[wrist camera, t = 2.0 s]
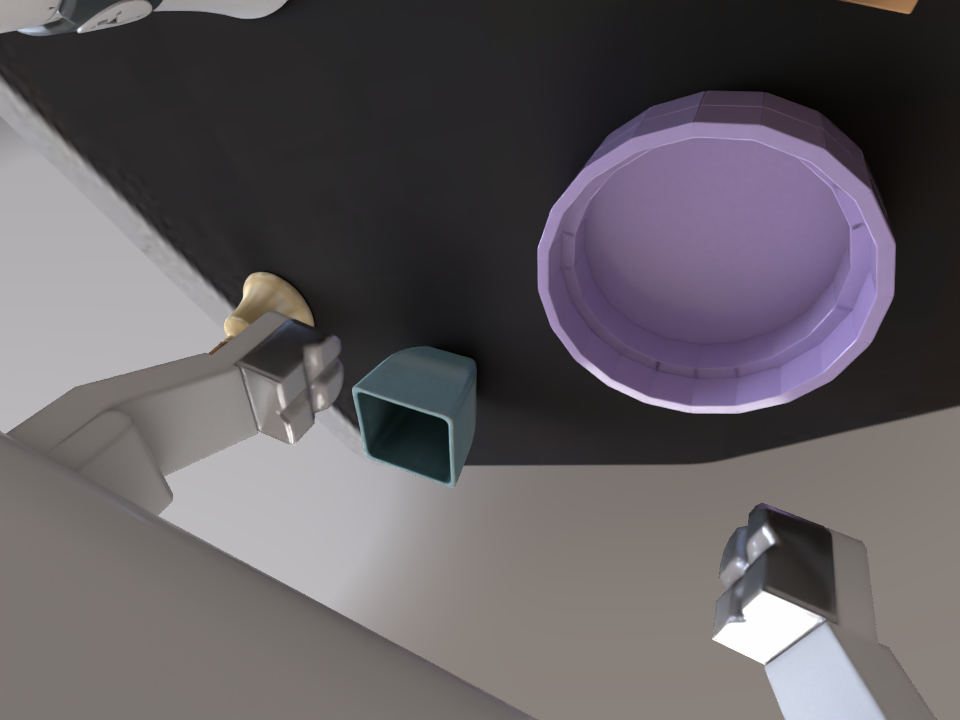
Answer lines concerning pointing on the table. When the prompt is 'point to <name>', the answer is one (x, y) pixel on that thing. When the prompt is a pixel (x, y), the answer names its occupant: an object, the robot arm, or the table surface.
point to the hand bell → (265, 304)
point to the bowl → (719, 254)
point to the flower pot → (419, 412)
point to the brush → (888, 4)
